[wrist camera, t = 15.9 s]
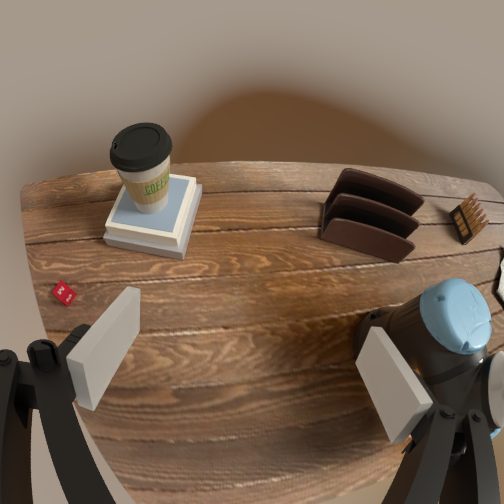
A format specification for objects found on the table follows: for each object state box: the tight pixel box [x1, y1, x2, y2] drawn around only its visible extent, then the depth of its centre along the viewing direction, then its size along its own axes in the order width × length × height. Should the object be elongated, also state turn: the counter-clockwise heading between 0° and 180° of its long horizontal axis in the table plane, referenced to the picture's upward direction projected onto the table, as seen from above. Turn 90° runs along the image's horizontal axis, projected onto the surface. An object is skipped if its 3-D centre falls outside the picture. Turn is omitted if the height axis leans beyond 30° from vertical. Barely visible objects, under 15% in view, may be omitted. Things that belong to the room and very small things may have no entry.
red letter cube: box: [52, 280, 76, 306], centre depth 45 cm, size 3×3×3 cm
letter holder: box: [320, 168, 424, 263], centre depth 56 cm, size 10×20×14 cm, turn 76°
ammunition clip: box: [450, 193, 489, 245], centre depth 63 cm, size 11×2×12 cm, turn 6°
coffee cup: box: [110, 123, 172, 214], centre depth 44 cm, size 10×10×15 cm
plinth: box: [103, 174, 202, 260], centre depth 54 cm, size 16×16×6 cm
